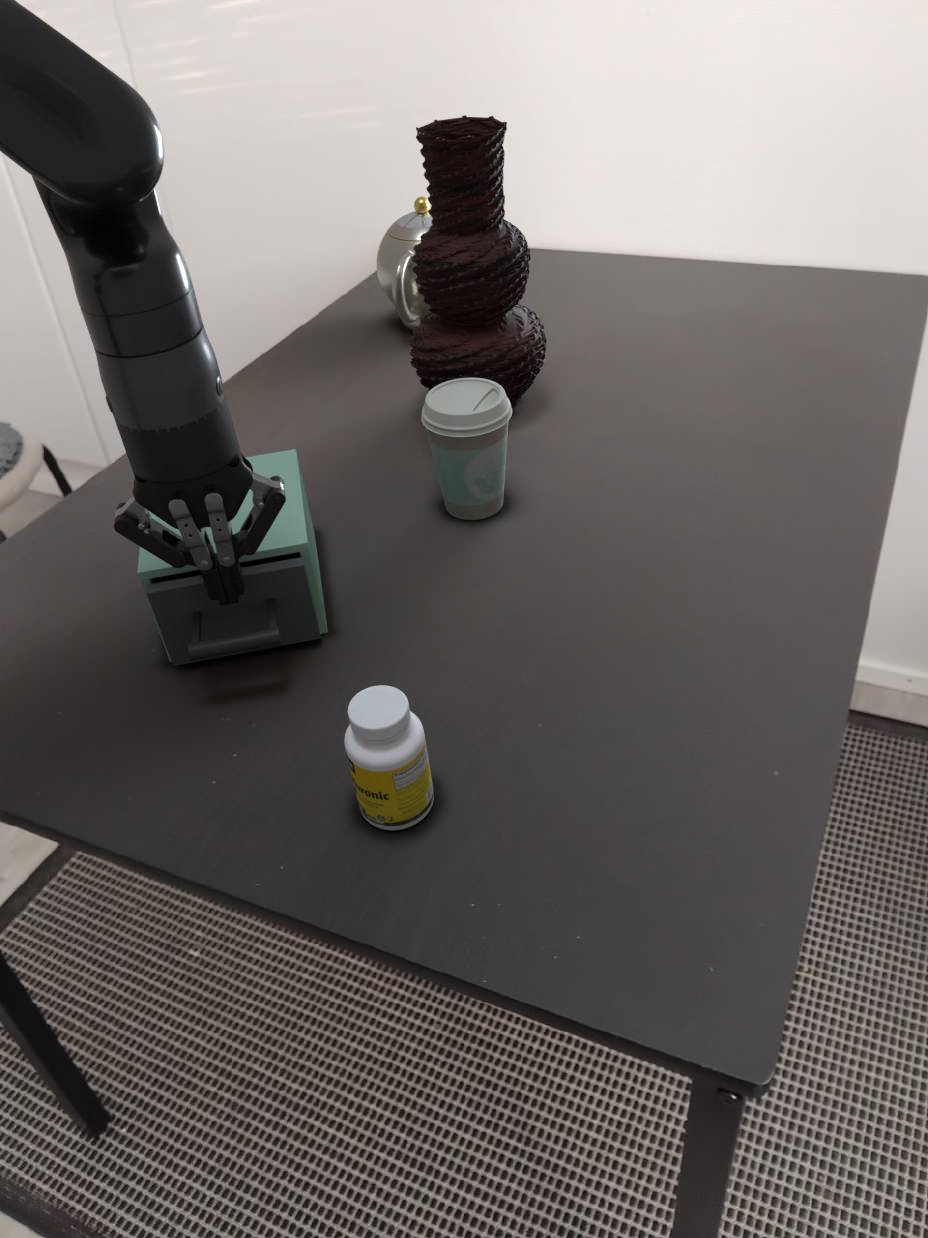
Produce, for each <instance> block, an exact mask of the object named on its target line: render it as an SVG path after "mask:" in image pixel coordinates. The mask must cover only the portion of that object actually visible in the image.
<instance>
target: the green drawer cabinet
mask: <svg viewBox="0 0 928 1238" xmlns="http://www.w3.org/2000/svg"><path fill="white" fill-rule="evenodd" d="M244 457H245V458H246V459H247V460H248V461H249V462H250V463H251V465H252V467H253V472H254V473H256V474H259V475H261V476H263V477H266V478H268V479H269V478H270V477H272V476H280V477H281V478H282V479H283V480H284V486H285V496H286V502H285V504H284V505H283V507H282V509H281V510H280V512H279V514H278V516H277V517H276V519H275V521H274V522H273V524H272V526H271V527H270V529H269V531H268V532H267V534H266V536H265V537H264V539H263V541H262V543H261V544H260V546H259V548H258V549H257V551H256V552H255V553H254V554H253V555H243V556H242V557H240V558H239V562H240V563H241V562H246V561H252V560H257V559H263V558H269V557H274V556H280V555H286V554H291V553H297V552H300V555H301V557H303V559H304V564H305V568H306V572H307V577H308V581H309V585H310V590H311V594H312V598H313V603H314V607H315V611H316V616H317V620H318V624H319V629H320V635H322V634H327V633H328V632H329V630H328V629H329V628H328V623H327V615H326V607H325V600H324V592H323V586H322V578H321V577H322V576H321V571H320V564H319V557H318V548H317V541H316V533H315V528H314V524H313V520H312V515H311V511H310V506H309V501H308V497H307V492H306V488H305V483H304V479H303V473H302V469H301V464H300V459H299V456H298V452H297V449H296V448H294V449H288V450H282V451H276V452H269V453H264V454H263V453H262V454H257V455H251V456H247V457H246V456H244ZM253 506H254V504H253V501H252V490H251V489H250V490H249V491H248V493H247V495H246V497H245V499H244V501H243V503H242V505H241V507H240V509H239V511H238V513H237V515H236V516H235V517H234V518H233V519H232V520H231V526H232V531H233V534H235V533H237V532H239V531H240V529H241V527H242V525H243V523H244V521H245V520H246V518H247V516H248V515H249V513H250V511H251V509H252V508H253ZM150 513H151V512H150ZM151 518H153V519H154V520H156V521H157V522H159V523H160V524H162V525H164V526H165V527H167V528H168V529H170V530H171V531H173V532H174V533H176V534H178V535H179V536H181V537H182V535H181V533H180V531H179V530H178V529H175V528H173V527H171V526H170V525H168V524H167V523H166V522H164V521H163V520H161V519H160V518H158V517H157V516H155V515H154V514H153V513H151ZM205 528H206V530H207V533H208V535H209V538H210V540H211V543H212V545H213V549H214V553H217V551H216V546H215V543H214V540H213V535H212V530H211V527H205ZM138 551H139V552H138V559H137V560H138V561H137V568H136V569H137V570H136V573H137V577H138V579H139V582H140V585H141V587H142V590H143V593H144V596H145V598H146V601H147V604H148V607H149V609H150V612H151V615H152V618H153V620H154V623H155V626H156V629H157V631H158V634H159V636H160V639H161V641H162V645H163V646H164V650H165V652H166V655H167V658H168V661H169V663H172V661H171V658H170V655H169V653H168V650H167V647H166V644H165V642H164V639H163V636H162V633H161V631H160V628H159V625H158V623H157V620H156V617H155V614H154V612H153V609H152V606H151V604H150V601H149V598H148V595H147V586H148V584H154V583H160V579H159V577H162V576H168V575H173V574H179V573H185V572H190V571H196V570H199V569H198V568H197V567H195V566H192V565H185V566H184V567H183V568H174V567H172V566H171V565H169V564H168V563H166V562H164V561H163V560H161V559H159V558H158V557H156V556H155V555H153V554H151V553H150V552H148V551H146V550H145V549H143V548H142V547H140V546H139V550H138Z"/></svg>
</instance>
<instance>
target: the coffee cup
mask: <svg viewBox="0 0 928 1238" xmlns="http://www.w3.org/2000/svg"><path fill="white" fill-rule="evenodd" d="M512 415H513V412H512V408H511V404H510V401H509V399H508V398H507V396H506V393H505V390H504V389H503V387H502V386H501V385H499V384H498V383H496V382H494V381H491V380H487V379H482V378H460V379H454V380H450V381H446V382H444V383H441V384H439V385H437V386H435V387H434V388H432V389H431V390H430V391H429V390H428V392H427V393H426V396H425V398H424V404H423V406H422V408H421V418H420V419H421V423H422V424H423V426H424V428H426V432H427V436H428V440H429V445H430V448H431V453H432V457H433V462H434V466H435V470H436V474H437V478H438V482H439V485H440V490H441V495H442V498H443V503H444V507H445V510H446V511H447V513H448V514H449V515H451V516H452V517H454V518H456V519H459V520H464V521H479V520H484V519H487V518H490V517H492V516H494V515H496V514H497V513H499V512H500V510H501V509H502V507H503V505H504V498H505V497H504V495H505V482H506V465H507V453H508V452H507V451H508V450H507V449H508V434H509V421H510V420H511V418H512Z"/></svg>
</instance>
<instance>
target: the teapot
mask: <svg viewBox="0 0 928 1238" xmlns="http://www.w3.org/2000/svg"><path fill="white" fill-rule="evenodd" d="M413 208H414V210H413V211H411V212H408V213H405V214H404V215H402V216H401V217H399V218H398V219H396V220H395V221H394V222H393V223H392V224H390V226H389V227H388V229H387V230H386V231H385V232H384V234H383V236H382V238H381V240H380V242H379V245H378V249H377V254H376V274H377V279H378V282H379V284H380V287H381V290H382V291H383V293H384V295H385V296H386V297H387V299H388V300H389V301H390V303H391V304H392V305H393V306H394V307H395V311H396V312H397V314H398V315H397V316H398V317H399V318H400V319H401V322H402V324H403V326H405V327H406V328H407V329H408V330H411V331H413V329H415V328H416V327H418V326H419V324H420V319H421V318H422V317H423V316H424V315H428V314H429V313H432V312H430V311H429V310H428V309H430V305H429V304H426V303H425V302H424V299H425V297H424V296H423V295H422V294H419V292H418V288H420V287H421V285H420V284H418V283H416V281H415V279H416V278H417V275H416V274H415V273H414V272H413V271H412V270H413V269H412V268H414V266H417V264H416V263H415V262H413V261H412V257H413V256H414V255H415V250H414V246H415V245H418V244H419V243H420V242H421V238H420V237H421V235H422V234H423V233H426V232H428V230H429V229H430V227H431V226H432V225H433V224H432V221H431V220H432V219H433V218H432V216H431V215H430V214H429V210H430V209H431V204H430V203H429V202H428V197H425V196H418V197H417V198H416V199H415V200H414V203H413ZM439 229H440V228H439ZM428 318H429V317H428Z"/></svg>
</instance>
